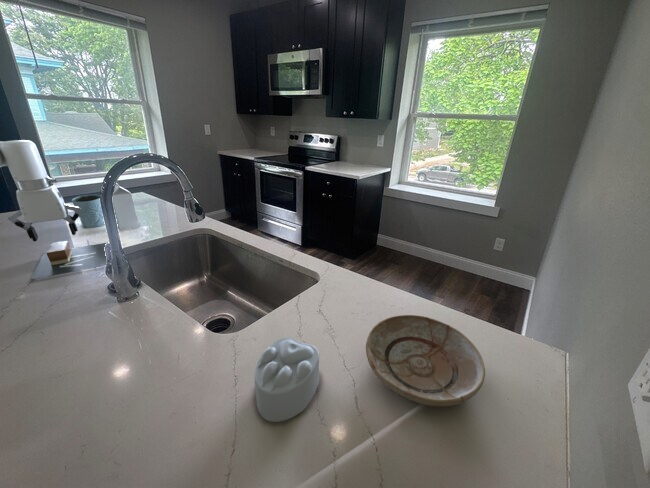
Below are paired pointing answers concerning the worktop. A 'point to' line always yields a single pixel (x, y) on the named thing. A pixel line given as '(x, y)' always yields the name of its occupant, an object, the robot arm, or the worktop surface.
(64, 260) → the eraser
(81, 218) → the blue-grey cup
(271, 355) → the lumpy-topped squat cylinder
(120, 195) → the milk carton
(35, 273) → the chalkboard
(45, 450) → the worktop surface
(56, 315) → the worktop surface
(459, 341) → the ceramic bowl
